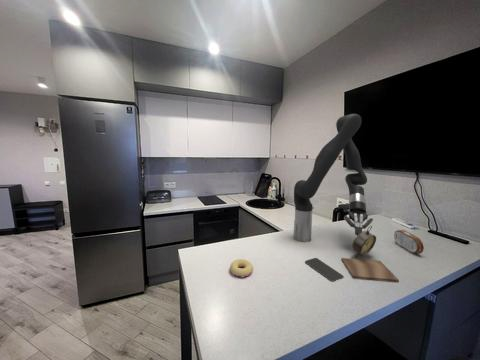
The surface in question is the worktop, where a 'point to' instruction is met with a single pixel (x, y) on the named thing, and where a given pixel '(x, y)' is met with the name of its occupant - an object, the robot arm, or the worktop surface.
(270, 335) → the worktop surface
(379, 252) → the worktop surface
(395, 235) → the tin
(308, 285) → the worktop surface
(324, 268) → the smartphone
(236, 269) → the donut
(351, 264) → the walnut board
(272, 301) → the worktop surface
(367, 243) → the alarm clock
